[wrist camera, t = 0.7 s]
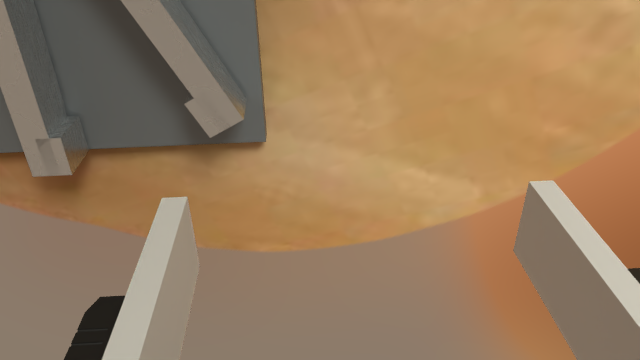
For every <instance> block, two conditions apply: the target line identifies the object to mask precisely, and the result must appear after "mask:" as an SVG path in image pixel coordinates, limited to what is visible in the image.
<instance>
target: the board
mask: <svg viewBox="0 0 640 360" xmlns="http://www.w3.org/2000/svg"><path fill="white" fill-rule="evenodd" d="M33 1H34V4H35V7H36V11H37V14H38V17H39V21H40V24H41V27H42V31H43V34H44V37H45V41H46V44H47V47H48V51H49V54H50V57H51V61H52V64H53V68H54V71H55V74H56V78H57V81H58V84H59V88H60V91H61V94H62V98H63V101H64V104H65V108H66V111H67V114H68V116H79V118H80V121H81V125H82V128H83V132H84V135H85V139H86V142H87V146H88V149H102V148H126V147H149V146H173V145H196V144H220V143H243V142H266V135H267V132H266V120H265V108H264V95H263V83H262V71H261V59H260V46H259V34H258V22H257V10H256V0H180V2H181V3H182V5H183V6H184V7H185V9H186V10H187V12H188V13H189V15H190V16H191V18H192V19H193V21H194V22H195V23H196V25H197V26H198V28H199V29H200V31H201V32H202V34H203V35H204V37H205V38H206V40H207V41H208V42H209V44H210V45H211V47H212V48H213V50H214V51H215V53H216V54H217V56H218V57H219V58H220V60H221V61H222V63H223V64H224V66H225V67H226V69H227V70H228V72H229V73H230V74H231V76H232V77H233V79H234V80H235V82H236V83H237V85H238V86H239V88H240V89H241V90H242V92H243V93H244V95H245V96H246V98H247V102H246V108H245V114H244V120H242V121H240V122H238V123H237V124H235V125H233V126H231V127H229V128H227V129H226V130H224V131H222V132H220V133H218V134H217V135H215V136H213V137H211V138H210V137H209V136H208V135H207V133H206V132H205V131H204V129H203V128H202V127H201V125H200V124H199V123H198V122H197V120H196V119H195V118H194V116H193V115H192V114H191V112H190V111H189V110H188V108H187V107H186V106H185V105H184V103H185V101H186V99H187V96H188V94H189V91H188V90H187V88H186V87H185V86H184V84H183V83H182V82H181V80H180V79H179V78H178V76H177V75H176V74H175V72H174V71H173V70H172V68H171V67H170V66H169V64H168V63H167V62H166V60H165V59H164V58H163V56H162V55H161V54H160V52H159V51H158V50H157V48H156V47H155V46H154V44H153V43H152V42H151V40H150V39H149V38H148V36H147V35H146V34H145V32H144V31H143V30H142V28H141V27H140V26H139V24H138V23H137V22H136V20H135V19H134V18H133V16H132V15H131V14H130V12H129V11H128V10H127V8H126V7H125V5H124V4H123V3H122V1H121V0H33ZM8 152H24V151H23V148H22V145H21V143H20V140H19V137H18V134H17V132H16V129H15V126H14V123H13V121H12V118H11V115H10V112H9V109H8V107H7V104H6V101H5V98H4V96H3V93H2V90H1V87H0V153H8Z"/></svg>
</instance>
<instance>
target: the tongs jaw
mask: <svg viewBox="0 0 640 360" xmlns="http://www.w3.org/2000/svg"><path fill="white" fill-rule="evenodd" d="M121 1H122V3H123V4H124V5H125V7H126V8H127V10H128V11H129V12H130V14H131V15H132V16H133V18H134V19H135V20H136V22H137V23H138V24H139V26H140V27H141V28H142V30H143V31H144V32H145V34H146V35H147V36H148V38H149V39H150V40H151V42H152V43H153V44H154V46H155V47H156V48H157V50H158V51H159V52H160V54H161V55H162V56H163V58H164V59H165V60H166V62H167V63H168V64H169V66H170V67H171V68H172V70H173V71H174V72H175V74H176V75H177V76H178V78H179V79H180V80H181V82H182V83H183V84H184V86H185V87H186V88H187V90H188V91H189V94H188V96H187V99H186V101H185V103H184V105H185V106H186V107H187V108H188V110H189V111H190V112H191V114H192V115H193V116H194V118H195V119H196V120H197V122H198V123H199V124H200V125H201V127H202V128H203V129H204V131H205V132H206V133H207V135H208V136H209V137H210V138H211V137H213V136H215V135H217V134H218V133H220V132H222V131H224V130H226V129H227V128H229V127H231V126H233V125H235V124H237V123H238V122H240V121H242V120H244V114H245V108H246V102H247V98H246V96H245V95H244V93H243V92H242V90H241V89H240V88H239V86H238V85H237V83H236V82H235V80H234V79H233V77H232V76H231V74H230V73H229V72H228V70H227V69H226V67H225V66H224V64H223V63H222V61H221V60H220V58H219V57H218V56H217V54H216V53H215V51H214V50H213V48H212V47H211V45H210V44H209V42H208V41H207V40H206V38H205V37H204V35H203V34H202V32H201V31H200V29H199V28H198V26H197V25H196V23H195V22H194V21H193V19H192V18H191V16H190V15H189V13H188V12H187V10H186V9H185V7H184V6H183V5H182V3H181V2H180V0H121Z"/></svg>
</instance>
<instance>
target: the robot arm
mask: <svg viewBox="0 0 640 360" xmlns="http://www.w3.org/2000/svg"><path fill="white" fill-rule="evenodd" d="M514 252H515V254H516V256H517V258H518V259H519V261H520V263H521V264H522V266H523V268H524V269H525V271H526V273H527V274H528V276H529V278H530V280H531V281H532V283H533V285H534V287H535V288H536V290H537V292H538V293H539V295H540V297H541V299H542V300H543V302H544V304H545V305H546V307H547V309H548V310H549V312H550V314H551V316H552V318H553V319H554V321H555V323H556V324H557V326H558V327H559V330H560V331H561V333H562V335H563V336H564V338H565V340H566V341H567V343H568V345H569V347H570V348H571V350H572V352H573V353H574V355H575V357H576V359H577V360H640V268H633V269H627V268H626V267H625V266H624V265H623V263H622V262H621V261H620V260H619V259H618V257H617V256H616V255H615V254H614V253H613V251H612V250H611V249H610V248H609V247H608V245H607V244H606V243H605V242H604V241H603V239H602V238H601V237H600V236H599V235H598V234H597V232H596V231H595V230H594V229H593V228H592V227H591V225H590V224H589V223H588V222H587V220H586V219H585V218H584V217H583V216H582V214H581V213H580V212H579V211H578V210H577V209H576V207H575V206H574V205H573V204H572V203H571V201H570V200H569V199H568V198H567V196H566V195H565V194H564V193H563V192H562V190H561V189H560V188H559V187H558V186H557V185H556V183H555V182H554V181H531V182H529V184H528V189H527V193H526V197H525V202H524V207H523V211H522V215H521V219H520V224H519V229H518V233H517V237H516V241H515V246H514ZM199 268H200V264H199V259H198V253H197V247H196V242H195V236H194V231H193V225H192V220H191V214H190V209H189V203H188V198H187V197H172V198H162V199H161V202H160V205H159V207H158V210H157V213H156V215H155V218H154V221H153V223H152V226H151V229H150V231H149V234H148V237H147V240H146V243H145V245H144V248H143V250H142V253H141V256H140V258H139V261H138V264H137V266H136V269H135V272H134V275H133V277H132V280H131V283H130V285H129V288H128V291H127V293H126V296H110V297H100V298H99V299H98V300H97V301H96V302H95V303H94V304H93V305H92V306H91V307H90V308H89V309H88V310H87V311H86V312H85V314H84V316H83V318H82V321H81V323H80V325H79V327H78V332H77V333H76V334H75V336H74V338H73V341H72V343H71V344H72V345H71V347H69V350H68V352H67V354H66V356H65V358H64V360H180V356H181V352H182V347H183V342H184V338H185V333H186V329H187V323H188V319H189V315H190V310H191V305H192V301H193V296H194V291H195V287H196V282H197V277H198V273H199Z"/></svg>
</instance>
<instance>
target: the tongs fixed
mask: <svg viewBox="0 0 640 360" xmlns="http://www.w3.org/2000/svg"><path fill="white" fill-rule="evenodd" d="M0 87H1V90H2V93H3V96H4V98H5V101H6V104H7V107H8V109H9V112H10V115H11V118H12V121H13V123H14V126H15V129H16V132H17V134H18V137H19V140H20V143H21V145H22V148H23V151H24V154H25V156H26V159H27V162H28V165H29V167H30V170H31V173H32V176H33V177H37V176H59V175H72V174H73V173H74V172H75V170H76V169H77V167H78V166H79V164H80V163H81V161H82V160H83V158H84V157H85V156H86V154H87V153H88V151H89V149H88V146H87V142H86V139H85V135H84V132H83V128H82V125H81V121H80V118H79V116H68V114H67V111H66V108H65V104H64V101H63V98H62V94H61V91H60V88H59V84H58V81H57V78H56V74H55V71H54V68H53V64H52V61H51V57H50V54H49V51H48V47H47V44H46V41H45V37H44V34H43V31H42V27H41V24H40V21H39V17H38V14H37V11H36V7H35V4H34V1H33V0H0Z"/></svg>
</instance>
